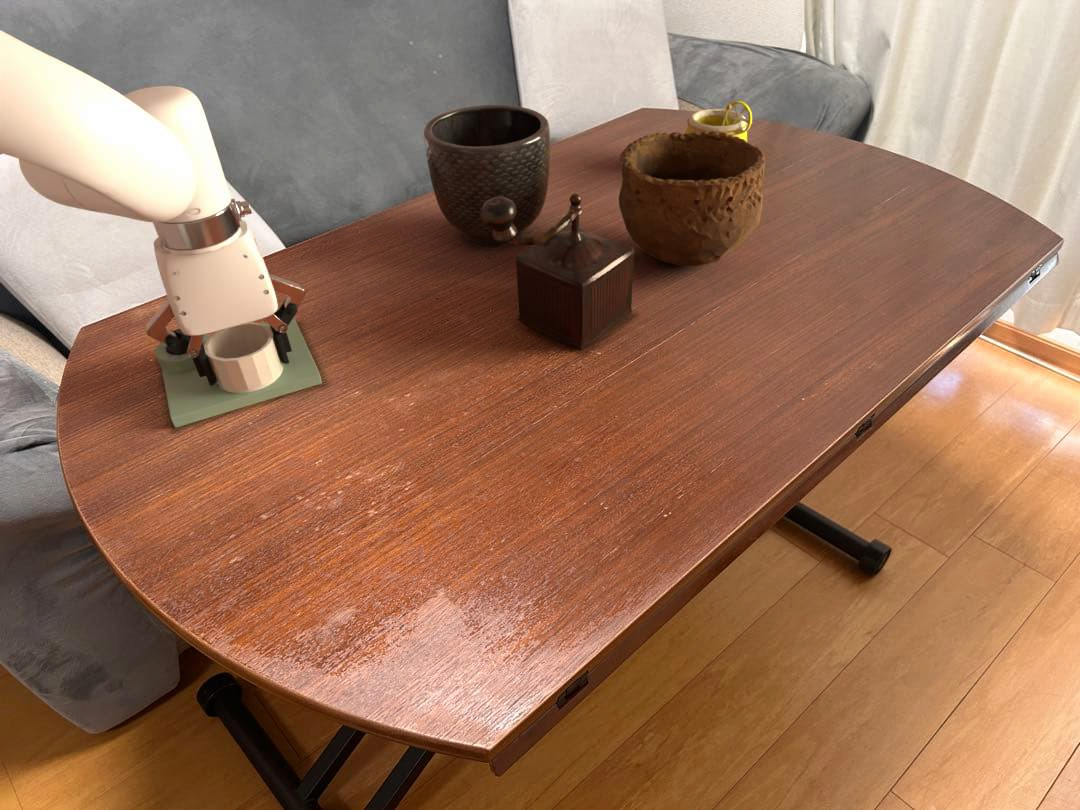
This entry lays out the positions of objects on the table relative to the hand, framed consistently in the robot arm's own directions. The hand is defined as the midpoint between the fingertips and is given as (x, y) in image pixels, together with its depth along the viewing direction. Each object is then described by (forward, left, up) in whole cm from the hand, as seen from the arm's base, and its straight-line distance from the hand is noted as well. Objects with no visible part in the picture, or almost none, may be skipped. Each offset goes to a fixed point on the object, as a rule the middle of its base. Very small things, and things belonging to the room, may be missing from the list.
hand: (248, 367), depth 85 cm
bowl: (+59, 0, -2) cm, 59 cm away
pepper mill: (+36, -7, -2) cm, 37 cm away
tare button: (-6, +7, 0) cm, 9 cm away
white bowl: (0, 0, -1) cm, 1 cm away
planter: (+39, +20, -2) cm, 44 cm away
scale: (-1, +3, -2) cm, 4 cm away
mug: (+81, +23, -2) cm, 84 cm away
